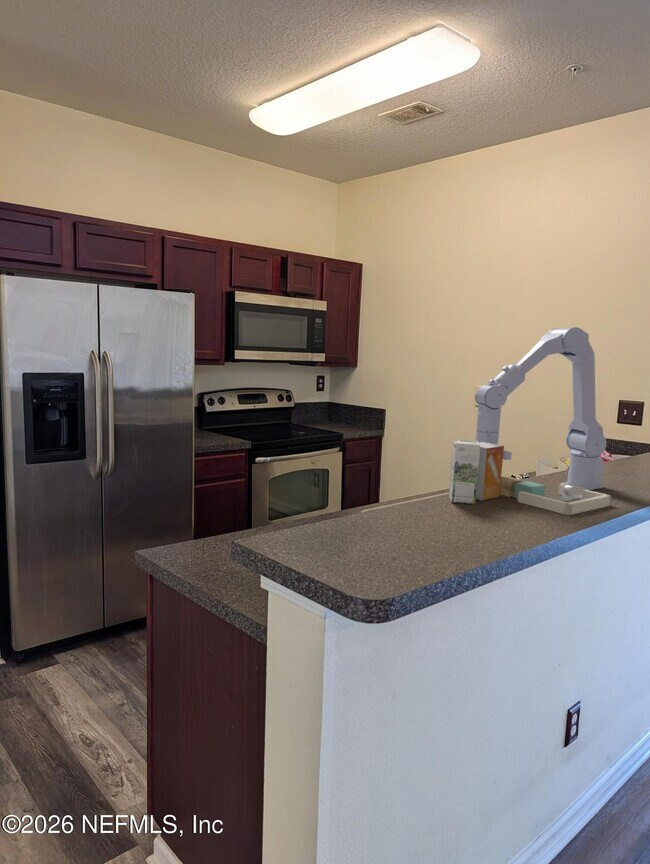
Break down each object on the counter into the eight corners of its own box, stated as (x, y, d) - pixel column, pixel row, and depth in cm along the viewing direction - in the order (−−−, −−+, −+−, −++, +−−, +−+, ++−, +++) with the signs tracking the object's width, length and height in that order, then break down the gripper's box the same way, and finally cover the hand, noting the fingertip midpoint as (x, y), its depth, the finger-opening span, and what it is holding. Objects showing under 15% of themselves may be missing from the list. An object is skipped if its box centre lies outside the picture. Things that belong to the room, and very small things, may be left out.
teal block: (526, 496, 154) (527, 481, 153) (543, 501, 150) (545, 485, 149) (513, 499, 151) (515, 483, 150) (531, 503, 147) (532, 487, 146)
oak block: (504, 491, 159) (505, 476, 158) (521, 495, 155) (522, 479, 154) (492, 493, 156) (493, 478, 155) (508, 497, 152) (510, 481, 151)
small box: (482, 501, 146) (487, 447, 144) (460, 496, 151) (464, 444, 149) (500, 496, 152) (504, 445, 150) (478, 491, 156) (482, 441, 154)
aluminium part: (569, 498, 153) (570, 482, 153) (587, 503, 149) (589, 487, 149) (557, 500, 150) (559, 485, 150) (576, 505, 146) (577, 489, 146)
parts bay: (560, 493, 158) (561, 484, 157) (610, 505, 147) (611, 495, 147) (517, 501, 147) (518, 491, 147) (568, 515, 136) (569, 504, 136)
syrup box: (472, 498, 148) (476, 440, 146) (475, 505, 142) (480, 443, 140) (448, 497, 149) (452, 438, 147) (451, 503, 143) (455, 442, 141)
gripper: (456, 428, 162) (452, 478, 164) (500, 436, 151) (496, 489, 153) (473, 427, 167) (469, 475, 168) (518, 434, 155) (513, 486, 157)
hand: (483, 482), depth 161 cm, fingers closed
